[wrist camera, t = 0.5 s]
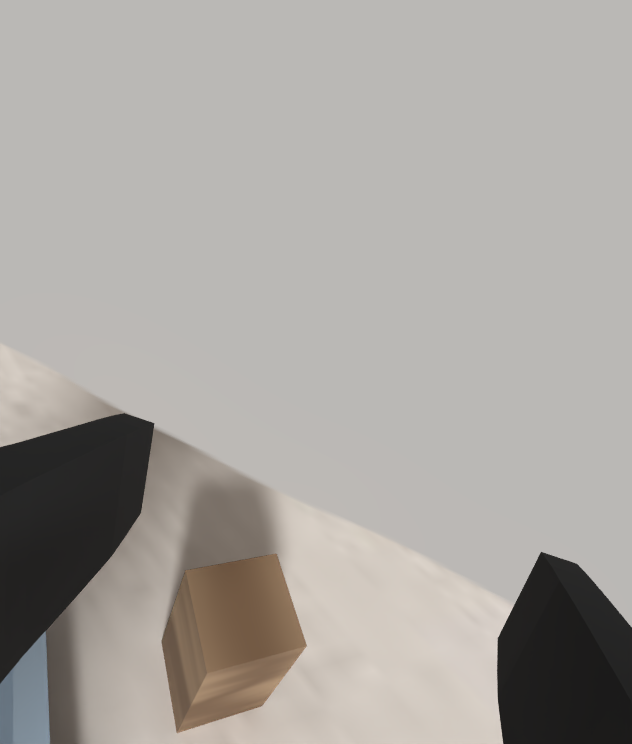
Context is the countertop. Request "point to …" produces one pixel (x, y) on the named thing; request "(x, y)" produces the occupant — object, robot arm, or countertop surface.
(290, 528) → the countertop surface
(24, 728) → the blue shallow rectangular tray
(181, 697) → the tan wooden block
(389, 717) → the countertop surface
